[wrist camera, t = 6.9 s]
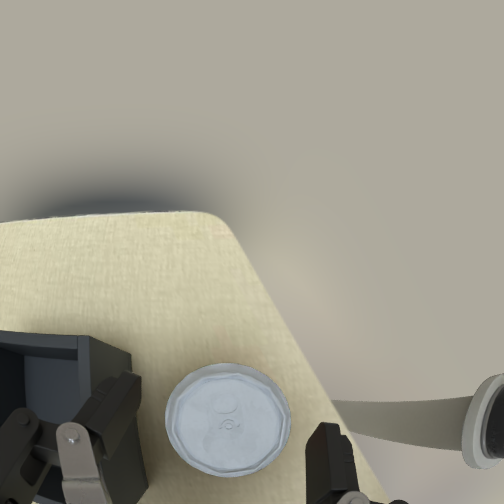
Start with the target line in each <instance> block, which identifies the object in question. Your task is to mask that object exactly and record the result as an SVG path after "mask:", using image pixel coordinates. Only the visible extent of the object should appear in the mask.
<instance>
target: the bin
mask: <svg viewBox="0 0 504 504" xmlns="http://www.w3.org/2000/svg"><path fill="white" fill-rule="evenodd" d="M124 370H127V371H130V372H132V368H131V354H130V353H128V352H125V351H123V350H120V349H118V348H116V347H113V346H111V345H109V344H106V343H104V342H102V341H100V340H97V339H95V338H93V337H91V336H85V335H78V336H77V335H55V334H37V333H24V332H13V331H3V330H0V428H1V426H2V425H3V424H4V422H5V421H6V420H7V418H8V417H9V416H10V415H11V413H12V412H13V411H14V410H16V409H18V408H28V409H30V410H32V411H33V412H34V413H35V414H36V415H37V417H38V419H41V420H44V421H47V422H51V423H54V424H63V423H66V422H70V421H71V420H72V419H73V418H74V417H75V416H76V414H77V413H78V412H79V410H80V409H81V408H82V406H83V405H84V404H85V402H86V401H87V400H88V398H89V397H91V394H92V393H93V392H94V391H95V390H96V388H97V387H98V385H99V384H100V383H101V381H103V380H105V379H106V378H108V377H110V376H113V377H115V378H117V379H118V378H119V376H120V375H121V373H122V372H123V371H124ZM100 467H101V470H102V474H103V477H104V480H105V483H106V486H107V489H108V492H109V495H110V498H111V500H112V503H113V504H136V503H137V502H138V501H139V499H140V498H141V497H142V496H143V494H144V493H145V492H146V490H147V489H148V483H147V478H146V474H145V469H144V464H143V458H142V453H141V447H140V441H139V435H138V428H137V420H136V413H135V415H134V417H133V419H132V421H131V422H130V424H129V426H128V428H127V430H126V431H125V433H124V435H123V437H122V439H121V440H120V442H119V444H118V446H117V448H116V450H115V451H114V453H113V455H112V457H111V459H110V461H109V460H107V459H105V458H103V457H102V459H101V461H100ZM62 480H63V474H62V469H61V467H60V466H57V465H53V464H52V466H51V468H50V469H49V471H48V473H47V475H46V477H45V479H44V480H43V482H42V484H41V486H40V488H39V490H38V492H37V494H36V496H35V497H34V499H33V501H34V502H36V503H39V504H66V501H65V497H64V493H63V489H62Z"/></svg>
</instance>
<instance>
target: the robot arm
mask: <svg viewBox="0 0 504 504" xmlns="http://www.w3.org/2000/svg"><path fill="white" fill-rule="evenodd" d="M140 402H141V376H139V375H137V374H134V373H132V372H130V371H127V370H124V371H123V372H122V373H121V375H120V376H119V378H118V379H117V378H115V377H113V376H110V377H108V378H106V379H105V380H103V381H101V383H100V384H99V385H98V387H97V388H96V390H95V391H94V392H93V393H92V394H91V397H89V398H88V400H87V401H86V402H85V404H84V405H83V406H82V408H81V409H80V410H79V412H78V413H77V414H76V416H75V417H74V418H73V419H72V420H71V421H70V422H66V423H63V424H54V423H51V422H47V421H44V420H41V419H38V417H37V415H36V414H35V413H34V412H33V411H32V410H30V409H28V408H18V409H16V410H14V411H13V412H12V413H11V415H10V416H9V417H8V418H7V420H6V421H5V422H4V424H3V425H2V426H1V428H0V504H31V503H32V501H33V499H34V497H35V496H36V494H37V492H38V490H39V488H40V486H41V484H42V482H43V480H44V479H45V477H46V475H47V473H48V471H49V469H50V468H51V466H52V464H53V465H57V466H60V467H61V469H62V474H63V480H62V489H63V493H64V497H65V501H66V504H113V503H112V500H111V498H110V495H109V492H108V489H107V486H106V483H105V480H104V477H103V474H102V470H101V467H100V461H101V459H102V457H103V458H105V459H107V460H109V461H110V459H111V457H112V455H113V453H114V451H115V450H116V448H117V446H118V444H119V442H120V440H121V439H122V437H123V435H124V433H125V431H126V430H127V428H128V426H129V424H130V422H131V421H132V419H133V417H134V415H135V413H136V412H137V410H138V408H139V406H140ZM480 444H481V450H482V453H483V455H484V456H485V457H486V458H488V459H498V458H504V384H502V385H501V386H499V387H498V388H497V389H496V391H495V392H494V393H493V395H492V397H491V399H490V401H489V403H488V405H487V408H486V411H485V414H484V417H483V421H482V427H481V435H480ZM305 458H306V504H383V503H378V502H373V501H370V500H369V499H368V497H367V496H366V495H365V494H363V493H361V492H360V490H359V486H358V479H357V473H356V467H355V463H354V455H353V449H352V444H351V442H350V441H349V439H348V438H347V436H346V435H341V433H340V427H339V425H338V424H335V423H326V422H321V423H320V424H319V426H318V427H317V428H316V430H315V431H314V433H313V434H312V435H311V437H310V438H309V440H308V441H307V444H306V449H305ZM389 504H408V503H407V502H405V501H403V500H394V501H392V502H391V503H389Z"/></svg>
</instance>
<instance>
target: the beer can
mask: <svg viewBox="0 0 504 504" xmlns="http://www.w3.org/2000/svg"><path fill="white" fill-rule="evenodd" d="M165 426H166V431H167V434H168V437H169V440H170V442H171V444H172V446H173V447H174V449H175V450H176V452H177V453H178V454H179V455H180V457H181V458H183V459H184V460H185V461H186V462H187V463H189V464H190V465H191V466H193V467H195V468H197V469H199V470H201V471H203V472H205V473H207V474H210V475H215V476H220V477H239V476H243V475H248V474H252V473H254V472H257V471H259V470H261V469H262V468H264V467H266V466H267V465H268V464H270V463H271V462H272V461H273V460H274V459H275V458H276V457H277V456H278V455H279V454H280V453H281V451H282V450H283V448H284V447H285V445H286V443H287V440H288V437H289V434H290V429H291V413H290V409H289V406H288V402H287V400H286V398H285V396H284V394H283V392H282V391H281V389H280V388H279V387H278V386H277V384H276V383H274V382H273V380H271V379H270V378H269V377H268V376H267V375H265V374H263V373H261V372H259V371H258V370H256V369H254V368H252V367H249V366H245V365H241V364H236V363H218V364H213V365H208V366H204V367H202V368H199V369H197V370H196V371H194V372H192V373H190V374H188V375H187V376H186V377H185V378H184V379H183V380H182V381H181V382H180V383H179V384H178V385H177V386H176V387H175V389H174V390H173V392H172V393H171V395H170V397H169V400H168V402H167V406H166V411H165Z"/></svg>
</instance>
